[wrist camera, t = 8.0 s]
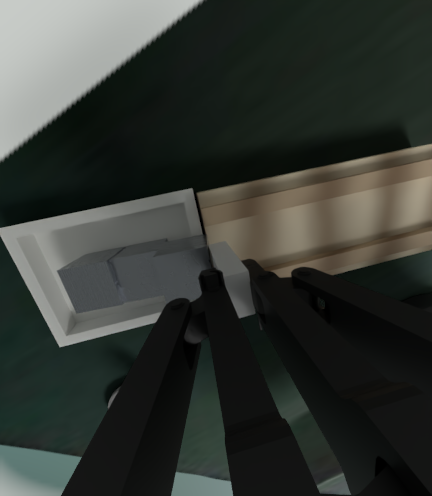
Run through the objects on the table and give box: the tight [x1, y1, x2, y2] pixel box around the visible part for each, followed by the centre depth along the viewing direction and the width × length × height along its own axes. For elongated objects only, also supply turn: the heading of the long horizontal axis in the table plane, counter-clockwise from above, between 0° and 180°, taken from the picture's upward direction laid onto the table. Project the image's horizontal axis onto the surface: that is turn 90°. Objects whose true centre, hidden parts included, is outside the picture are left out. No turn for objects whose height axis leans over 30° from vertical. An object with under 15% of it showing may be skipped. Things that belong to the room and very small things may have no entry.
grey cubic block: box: [57, 246, 126, 314], centre depth 19 cm, size 4×4×4 cm
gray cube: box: [152, 234, 213, 304], centre depth 17 cm, size 4×4×4 cm
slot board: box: [196, 144, 432, 278], centre depth 21 cm, size 24×11×4 cm, turn 102°
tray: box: [0, 188, 203, 347], centre depth 20 cm, size 16×12×2 cm
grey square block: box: [109, 238, 168, 303], centre depth 19 cm, size 4×4×4 cm
